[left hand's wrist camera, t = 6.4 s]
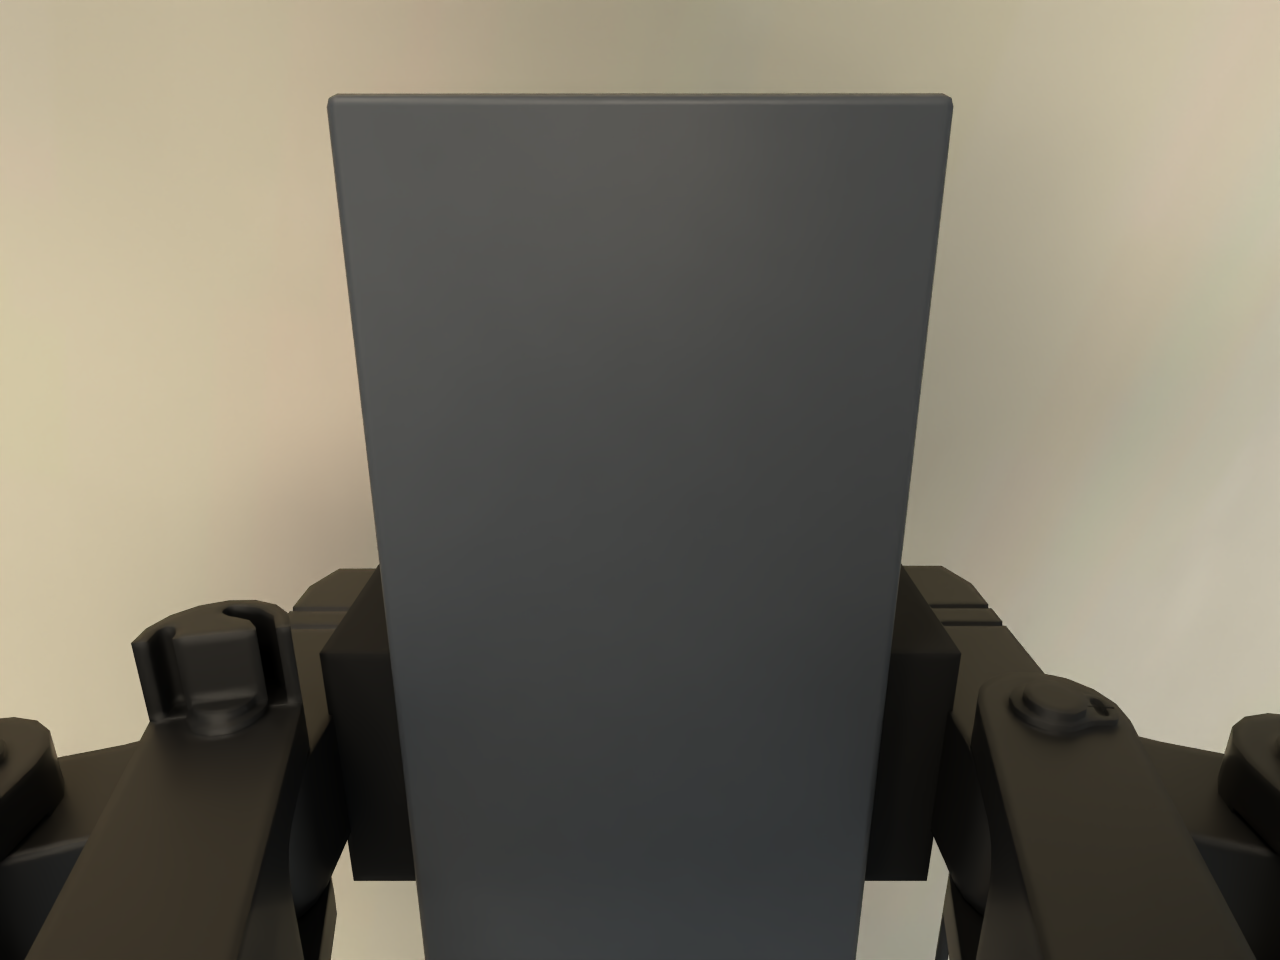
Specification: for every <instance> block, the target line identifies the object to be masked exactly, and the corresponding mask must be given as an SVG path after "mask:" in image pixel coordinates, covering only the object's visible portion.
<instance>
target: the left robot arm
mask: <svg viewBox="0 0 1280 960" xmlns="http://www.w3.org/2000/svg"><path fill="white" fill-rule="evenodd" d="M131 645H132V649H133V653H134V658H135V662H136V666H137V670H138V674H139V678H140V682H141V687H142V691H143V695H144V699H145V703H146V707H147V712H148V716H149V720H150V722H149V724H148V726H147V728H146V730H145V732H144V734H143V736H142V738H141V740H140V741H137V742H133V743H129V744H125V745H121V746H116V747H111V748H105V749H100V750H95V751H90V752H85V753H79V754H74V755H69V756H64V757H59V758H57V754H56V751H55V748H54V744H53V741H52V737H51V734H50V731H49V730H48V729H47V728H46V727H44V726H43V725H42V724H41V723H39V722H38V721H36V720H29V719H23V718H16V717H10V718H0V960H331V954H332V946H333V939H334V931H335V924H336V917H337V911H336V903H335V895H334V889H333V883H332V877H331V876H332V874H333V871H334V869H335V867H336V865H337V862H338V860H339V858H340V855H341V853H342V851H343V849H344V846H345V844H346V842H347V840H348V845H349V852H350V859H351V865H352V872H353V878H354V881H416V876H415V867H414V859H413V850H412V841H411V833H410V824H409V815H408V807H407V798H406V789H405V781H404V772H403V763H402V755H401V746H400V737H399V729H398V720H397V711H396V703H395V694H394V685H393V677H392V668H391V659H390V650H389V642H388V633H387V624H386V616H385V607H384V598H383V590H382V581H381V572H380V564H379V565H378V567H377V568H376V569H338V570H336V571H335V572H333V573H331V574H330V575H328V576H326V577H325V578H323V579H321V580H320V581H318V582H316V583H315V584H313V585H311V586H310V587H309V588H308V589H307V591H306V592H305V593H304V594H303V596H302V597H301V598H300V599H299V600H298V602H297V603H296V604H295V605H294V607H293V611H290V612H289V613H287V612H285V611H284V610H283V609H281V608H280V607H279V606H277V605H276V604H271V603H266V602H262V601H257V600H229V601H223V602H217V603H212V604H206V605H201V606H197V607H194V608H191V609H188V610H185V611H182V612H179V613H176V614H173V615H170V616H168V617H167V618H165V619H163V620H161V621H159V622H157V623H156V624H154V625H152V626H150V627H148V628H146V629H145V630H144V631H143V632H142V633H141V634H140V635H139V636H138V637H137V638H136V639H135V640H134V641H133V642H132V643H131ZM933 837H934V838H935V841H936V843H937V845H938V847H939V850H940V852H941V854H942V856H943V859H944V861H945V863H946V865H947V868H948V870H949V877H948V883H947V889H946V895H945V901H944V907H943V913H942V920H941V926H940V932H939V938H938V944H937V950H936V957H935V960H948V955H949V959H950V960H1280V714H1271V713H1266V714H1260V715H1253V716H1247V717H1244V718H1243V719H1241V720H1240V721H1239V722H1238V723H1236V724H1235V725H1234V726H1233V727H1232V730H1231V733H1230V737H1229V740H1228V743H1227V747H1226V750H1225V754H1222V753H1216V752H1211V751H1206V750H1201V749H1196V748H1190V747H1185V746H1180V745H1175V744H1169V743H1164V742H1159V741H1155V740H1151V739H1147V738H1143V737H1139V736H1138V734H1137V732H1136V730H1135V729H1134V727H1133V725H1132V723H1131V721H1130V720H1129V719H1128V717H1127V716H1126V715H1125V714H1124V713H1123V711H1122V710H1121V709H1120V708H1119V707H1118V706H1117V704H1115V703H1114V702H1112V701H1111V700H1109V699H1108V698H1106V697H1105V696H1103V695H1101V694H1100V693H1098V692H1097V691H1095V690H1094V689H1092V688H1089V687H1086V686H1084V685H1081V684H1079V683H1076V682H1074V681H1071V680H1069V679H1066V678H1062V677H1057V676H1052V675H1048V674H1044V672H1043V671H1042V670H1041V669H1040V668H1039V666H1038V665H1037V664H1036V663H1035V661H1034V660H1033V659H1032V658H1031V656H1030V655H1029V654H1028V653H1027V652H1026V650H1025V649H1024V648H1023V647H1022V645H1021V644H1020V643H1019V642H1018V640H1017V639H1016V638H1015V637H1014V636H1013V634H1012V633H1011V632H1010V631H1009V629H1008V628H1007V627H1006V626H1002V621H1001V620H1000V618H999V617H998V616H997V615H996V613H995V612H994V611H993V610H992V608H988V604H987V602H986V601H985V600H984V599H983V597H982V596H981V595H980V594H979V592H978V591H977V590H976V589H975V587H974V586H973V585H972V584H971V583H969V582H968V581H966V580H964V579H963V578H961V577H959V576H958V575H956V574H954V573H953V572H951V571H949V570H948V569H946V568H944V567H943V566H902V564H901V567H900V576H899V585H898V593H897V602H896V611H895V620H894V628H893V637H892V646H891V654H890V663H889V672H888V681H887V689H886V698H885V707H884V715H883V724H882V733H881V742H880V750H879V759H878V768H877V776H876V785H875V794H874V803H873V811H872V820H871V829H870V837H869V846H868V855H867V864H866V872H865V881H927V876H928V869H929V863H930V856H931V850H932V843H933Z"/></svg>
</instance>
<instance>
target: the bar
mask: <svg viewBox="0 0 1280 960" xmlns="http://www.w3.org/2000/svg"><path fill="white" fill-rule="evenodd" d="M327 113H328V121H329V130H330V139H331V147H332V156H333V165H334V173H335V182H336V191H337V199H338V208H339V217H340V225H341V234H342V243H343V251H344V260H345V269H346V277H347V286H348V295H349V303H350V312H351V321H352V329H353V338H354V347H355V355H356V364H357V373H358V382H359V390H360V399H361V408H362V416H363V425H364V434H365V442H366V451H367V460H368V468H369V477H370V486H371V494H372V503H373V512H374V520H375V529H376V538H377V546H378V555H379V564H380V572H381V581H382V590H383V598H384V607H385V616H386V624H387V633H388V642H389V650H390V659H391V668H392V677H393V685H394V694H395V703H396V711H397V720H398V729H399V737H400V746H401V755H402V763H403V772H404V781H405V789H406V798H407V807H408V815H409V824H410V833H411V841H412V850H413V859H414V867H415V876H416V885H417V893H418V902H419V911H420V919H421V928H422V937H423V945H424V954H425V960H855V959H856V951H857V942H858V933H859V925H860V916H861V907H862V898H863V890H864V881H865V872H866V864H867V855H868V846H869V837H870V829H871V820H872V811H873V803H874V794H875V785H876V776H877V768H878V759H879V750H880V742H881V733H882V724H883V715H884V707H885V698H886V689H887V681H888V672H889V663H890V654H891V646H892V637H893V628H894V620H895V611H896V602H897V593H898V585H899V576H900V567H901V559H902V550H903V541H904V532H905V524H906V515H907V506H908V498H909V489H910V480H911V471H912V463H913V454H914V445H915V437H916V428H917V419H918V410H919V402H920V393H921V384H922V376H923V367H924V358H925V349H926V341H927V332H928V323H929V314H930V306H931V297H932V288H933V280H934V271H935V262H936V253H937V245H938V236H939V227H940V219H941V210H942V201H943V192H944V184H945V175H946V166H947V158H948V149H949V140H950V131H951V123H952V114H953V103H952V98H951V97H949V96H947V95H945V94H336V95H334V96H332V97H330V98H329V99H328V104H327Z"/></svg>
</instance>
